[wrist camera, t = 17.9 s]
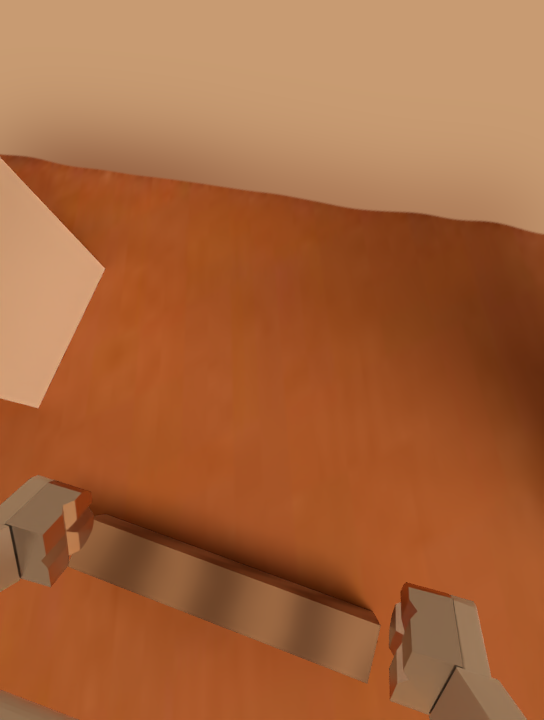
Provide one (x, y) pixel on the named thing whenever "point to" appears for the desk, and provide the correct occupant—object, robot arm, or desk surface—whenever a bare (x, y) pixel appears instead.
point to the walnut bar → (231, 595)
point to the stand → (37, 290)
